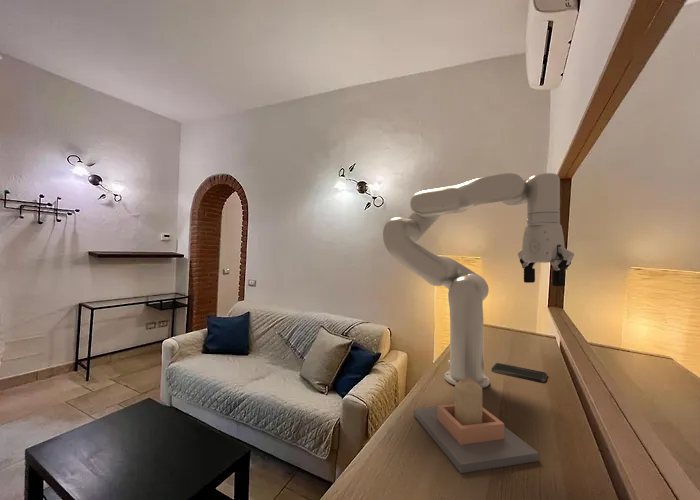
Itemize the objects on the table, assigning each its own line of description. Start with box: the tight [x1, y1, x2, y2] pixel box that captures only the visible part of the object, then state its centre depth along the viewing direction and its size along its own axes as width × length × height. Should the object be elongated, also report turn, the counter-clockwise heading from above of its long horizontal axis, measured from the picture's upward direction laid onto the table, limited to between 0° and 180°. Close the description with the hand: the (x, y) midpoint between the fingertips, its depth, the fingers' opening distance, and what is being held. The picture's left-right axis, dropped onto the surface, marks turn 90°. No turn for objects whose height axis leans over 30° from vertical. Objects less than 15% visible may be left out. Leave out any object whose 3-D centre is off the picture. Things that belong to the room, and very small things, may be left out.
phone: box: [491, 362, 548, 383], centre depth 102 cm, size 8×1×15 cm
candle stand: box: [413, 403, 540, 474], centre depth 67 cm, size 20×16×4 cm
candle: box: [454, 378, 483, 426], centre depth 67 cm, size 6×6×10 cm
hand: (543, 284), depth 85 cm, fingers open, 9 cm apart
